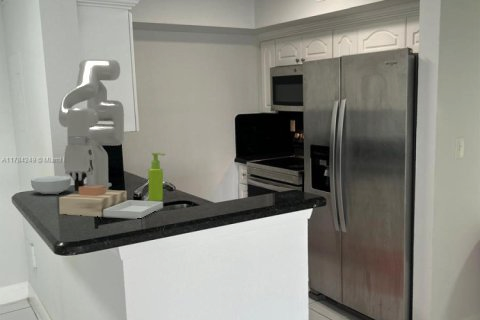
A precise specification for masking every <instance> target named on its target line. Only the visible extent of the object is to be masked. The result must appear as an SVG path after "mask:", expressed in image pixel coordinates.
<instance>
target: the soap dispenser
mask: <svg viewBox="0 0 480 320" xmlns="http://www.w3.org/2000/svg"><path fill="white" fill-rule="evenodd" d="M158 155H160V156H165V155H166V154H165V153H163V152H153V153H151V156H153V159H152V160H151V168H149V169H148V201H157V202H163V200H164V197H163V196H164V191H163V190H164V188H163V185H164V184H163V183H164V179H163V177H164V176H163V175H164V174H163V171H164V170H163V168H161V167H160V165H161V164H160V163H161V162H160V160H158V159H159V158H158Z"/></svg>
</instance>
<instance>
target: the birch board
mask: <svg viewBox="0 0 480 320" xmlns="http://www.w3.org/2000/svg"><path fill="white" fill-rule="evenodd" d="M127 191H128V190H111V189H108V190H106V193H104V194H101V195H98V196H87V195H79V191H77V192H75V193H71V194H68V195H67V194H66V195H64V196H60V197H58V199H59V200H58V201H59V202H58V203H59V205H58V207H59V209H58V210H59V215H63V214H67V215H66V216H80V215H82V216H83V217H97V216H98V217H100V218H101V217H104V216H103V210H104V209H107V208H110V207H112V206H115V205H117V204H120V203H123V202H125V201H128V200H127V199H128V198H127V197H128V195H127V193H128V192H127ZM98 217H97V218H98Z"/></svg>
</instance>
